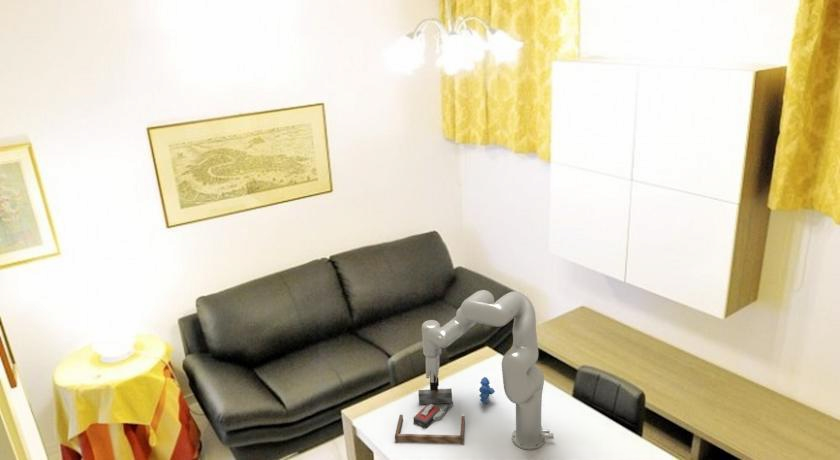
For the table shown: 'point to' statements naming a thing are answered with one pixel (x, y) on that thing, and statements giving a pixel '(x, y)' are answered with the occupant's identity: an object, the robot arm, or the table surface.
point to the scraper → (435, 396)
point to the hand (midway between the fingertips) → (434, 387)
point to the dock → (429, 438)
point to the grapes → (485, 390)
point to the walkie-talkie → (429, 415)
